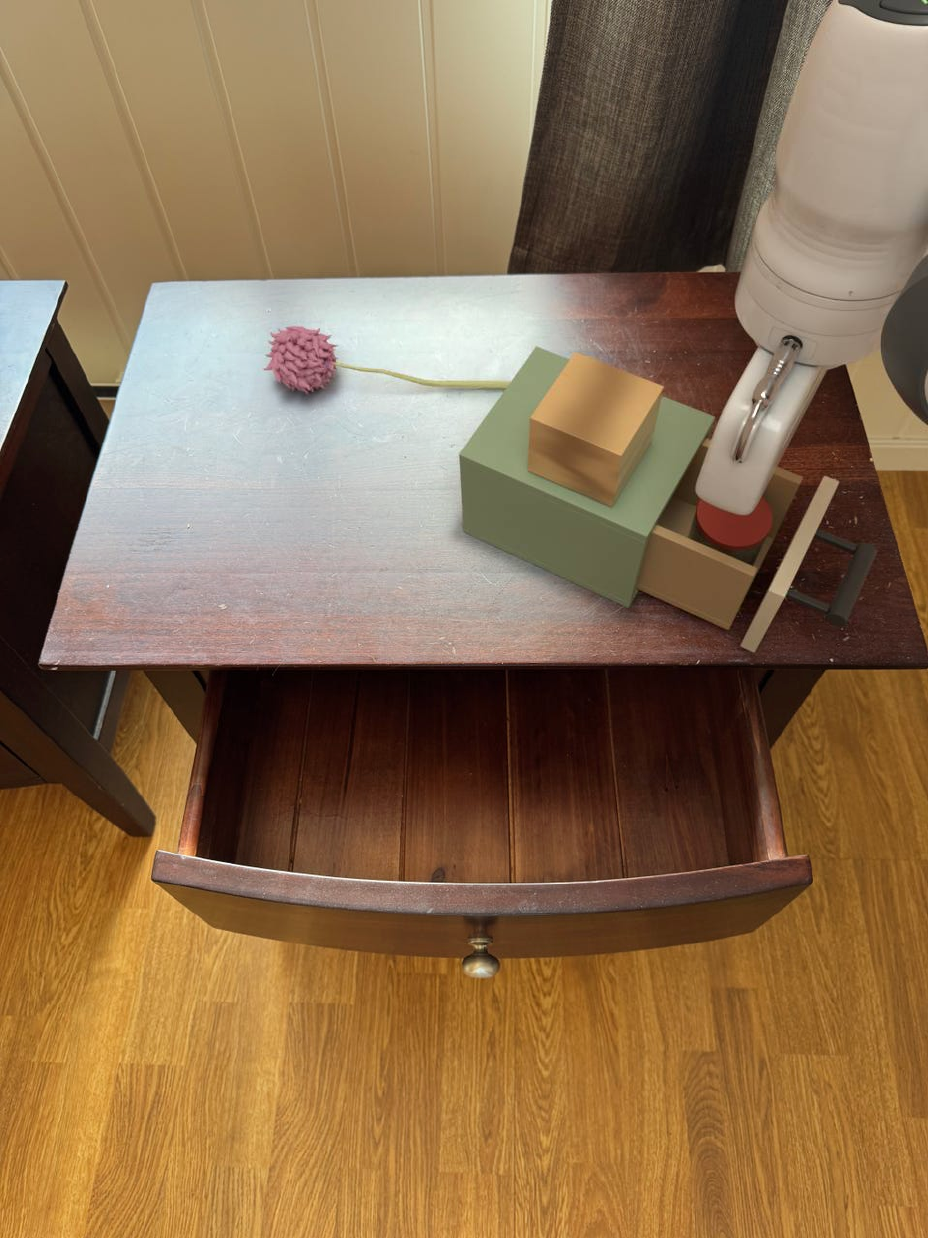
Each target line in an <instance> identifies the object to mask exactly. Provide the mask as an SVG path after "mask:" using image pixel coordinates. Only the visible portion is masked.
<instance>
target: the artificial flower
mask: <svg viewBox="0 0 928 1238" xmlns="http://www.w3.org/2000/svg"><path fill="white" fill-rule="evenodd" d="M284 328H285V329H283V330H281V329H280V328H279V327H277V333H273V332H271V331H269V334H270V336H271V337H272V338H273V339H274V340H272V341H271V340H268V339H267V342H268V344H269V345H271V348H270V352H269V353H268V354H264V356H265V357H266V358H271V359H270V362H269V363H268V364H267V367H265V368H262V370H263V371H272V372H273V374H274V379H275V380H277V381H278V383H280V384H281V383H283V384H284V385H285V386H286V387H287V388H288V389H289V390H291V391H292V392H294V391H295V389H298V391H299V392H301V393H305V394H306V395H309V392H310V391H311V392H312V393H314V388H315V389H316V390H319V388H322V389H323V390H326V387H325V386H324V385H326V386H328V384H327V383H326V382H328V383H331V380H330V379H329V378H335V377H336V376H335V375H334V374H332V373H336V371H338V369H337V367H340V368H344V369H349V370H354V371H358V372H364V373H374V374H375V373H376V374H382V375H387V376H391V377H393V378H398V379H400V380H404V381H407V382H410V383H414V384H418V385H421V386H426V387H435V388H474V389H475V388H480V389H481V388H482V389H485V388H486V389H504V390H505V389H506V388H507V387H508V385H509V384H510V382H511V381H505V380H433V379H424V378H420V377H415V376H412V375H407V374H404V373H399V372H396V371H391V370H387V369H383V368H372V367H359V366H353V365H350V364H349V365H348V364H345V363H339V362H337V360H338V359H339V357H336V355H335V352H334V351H336V349H335V348H336V347H339V345H338V344H332V343H329V342H328V341H327V340H329V339H330V338H331V337H332V336H333V335H332V334H328V335H326V334H324V333H320V332H321V327H319V328H318V329H310V328H306V327H304V326H296V325H292V326H285V327H284ZM335 370H336V371H335ZM308 391H309V392H308Z"/></svg>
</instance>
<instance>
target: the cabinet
mask: <svg viewBox="0 0 928 1238" xmlns="http://www.w3.org/2000/svg"><path fill="white" fill-rule="evenodd" d="M570 359H571V358H570ZM570 359H569V358H567V357H565V356H562V355H560V354H557V353H554V352H552V351H549V350H547V349H545V348H542V347H539V346H534V349H533V350H532V352H531V353H530V354H529V355H528V357H527V359H526V360H525V361H524V362H523V364H522V365H521V367H520V368H519V370H518V371H517V372H516V374H515V375H514V377H513V378H512V379H511V381H509V382H510V384H509V385H508V387H507V388H506V389H504V390H503V392H502V394H500V396H499V398H498V399H497V401H496V402H495V403H494V405H493V406H492V407H491V409H490V410H489V412H488V413H487V415H486V416H485V417H484V419H482V421H481V423H480V424H479V426H478V427H477V429H475V431H474V433H473V434H472V436H471V437H470V438H469V440H468V441H467V443H466V444H465V445H464V447H463V448H462V449H461V451H460V452H459V453H458V458H459V459H458V460H459V475H460V476H459V477H460V491H461V492H460V493H461V495H460V496H461V508H462V509H461V511H462V529H463V533H466V534H467V535H469V536H471V537H474V538H476V539H478V540H480V541H483V542H484V543H487V544H488V545H490V546H493V547H496V548H497V549H499V550H502V551H504V552H506V553H508V554H511V555H513V556H514V557H517V558H519V559H521V560H523V561H525V562H527V563H530V564H532V565H534V566H536V567H539V568H541V569H543V570H545V571H547V572H549V573H551V574H554V575H556V576H558V577H560V578H562V579H565V580H567V581H568V582H570V583H573V584H575V585H578V586H580V587H582V588H584V589H586V590H588V591H591V592H593V593H595V594H597V595H598V596H601V597H604V598H606V599H607V600H609V601H611V602H614V603H616V604H619V605H620V606H623V607H625V608H627V609H630V607H631V605H632V603H633V601H634V600H635V598H636V596H637V594H638V593H639V591H640V590H639V589H637V588H636V586H637V582H638V578H639V575H640V571H641V567H642V563H643V559H644V555H645V552H646V548H647V544H648V540H649V536H650V534H651V532H652V530H653V529H654V527H655V525H656V523H657V522H658V520H659V518H660V516H661V515H662V513H663V511H664V509H665V508H666V506H667V504H668V502H669V501H670V499H671V497H672V495H673V494H674V492H675V490H676V488H677V487H678V485H679V483H680V481H681V480H682V478H683V476H684V474H685V473H686V471H687V469H688V467H689V466H690V464H691V462H692V460H693V459H694V457H695V455H696V453H697V452H698V450H699V448H700V446H701V445H702V443H703V441H704V439H705V438H707V439H710V436H711V434H712V429H713V426H714V424H715V420H716V416H715V415H712V414H709V413H706V412H705V411H701V410H699V409H696V408H694V407H692V406H689V405H687V404H683V403H681V402H678V401H676V400H673V399H671V398H669V397H666V396H663V395H662V399H661V403H660V407H659V412H658V416H657V421H656V425H655V429H654V434H653V438H652V442H651V443H650V445H649V447H648V448H647V450H646V452H645V453H644V455H643V457H642V458H641V460H640V462H639V463H638V465H637V467H636V468H635V470H634V472H633V473H632V475H631V477H630V478H629V480H628V482H627V483H626V485H625V487H624V488H623V490H622V492H621V493H620V495H619V497H618V498H617V500H616V502H615V503H614V505H613V506H612V507H610V506H608V505H606V504H603V503H601V502H599V501H596V500H594V499H592V498H589V497H587V496H585V495H583V494H580V493H578V492H576V491H573V490H571V489H569V488H566V487H564V486H562V485H560V484H557V483H555V482H553V481H550V480H548V479H546V478H543V477H541V476H539V475H537V474H534V473H532V472H530V471H528V450H529V429H530V417H531V415H532V414H533V413H534V411H535V410H536V408H537V407H538V405H539V404H540V402H541V401H542V399H543V398H544V397H545V395H546V394H547V392H548V391H549V389H550V388H551V386H552V385H553V383H554V382H555V381H556V379H557V378H558V376H559V375H560V373H561V372H562V370H563V369H564V367H565V366H566V365H567V363H568V362H569V360H570Z"/></svg>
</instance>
